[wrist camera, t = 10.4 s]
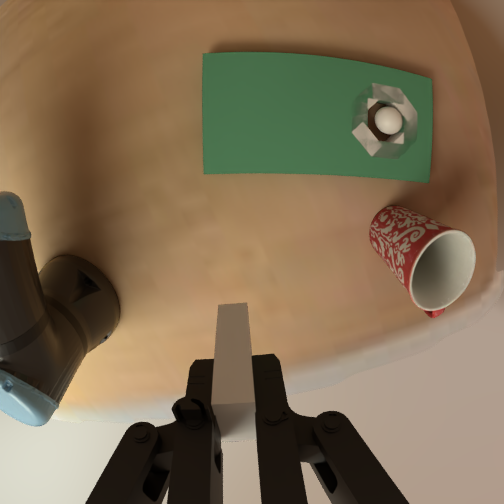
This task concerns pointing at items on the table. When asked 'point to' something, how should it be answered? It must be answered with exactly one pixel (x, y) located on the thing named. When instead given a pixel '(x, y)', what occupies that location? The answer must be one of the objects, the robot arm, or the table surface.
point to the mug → (424, 256)
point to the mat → (312, 116)
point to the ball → (388, 120)
